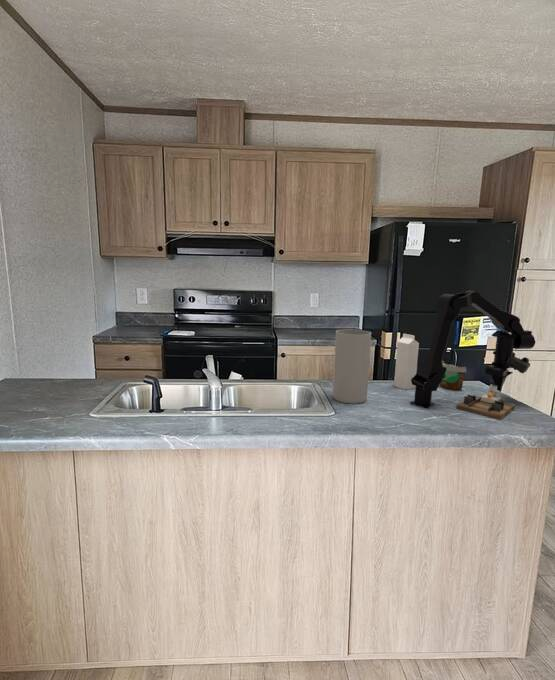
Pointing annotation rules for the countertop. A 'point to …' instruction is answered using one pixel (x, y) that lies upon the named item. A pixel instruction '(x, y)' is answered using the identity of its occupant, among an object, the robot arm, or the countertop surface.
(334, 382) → the cylinder vase
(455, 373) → the food container
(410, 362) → the milk
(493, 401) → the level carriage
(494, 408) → the stand
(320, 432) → the countertop surface
